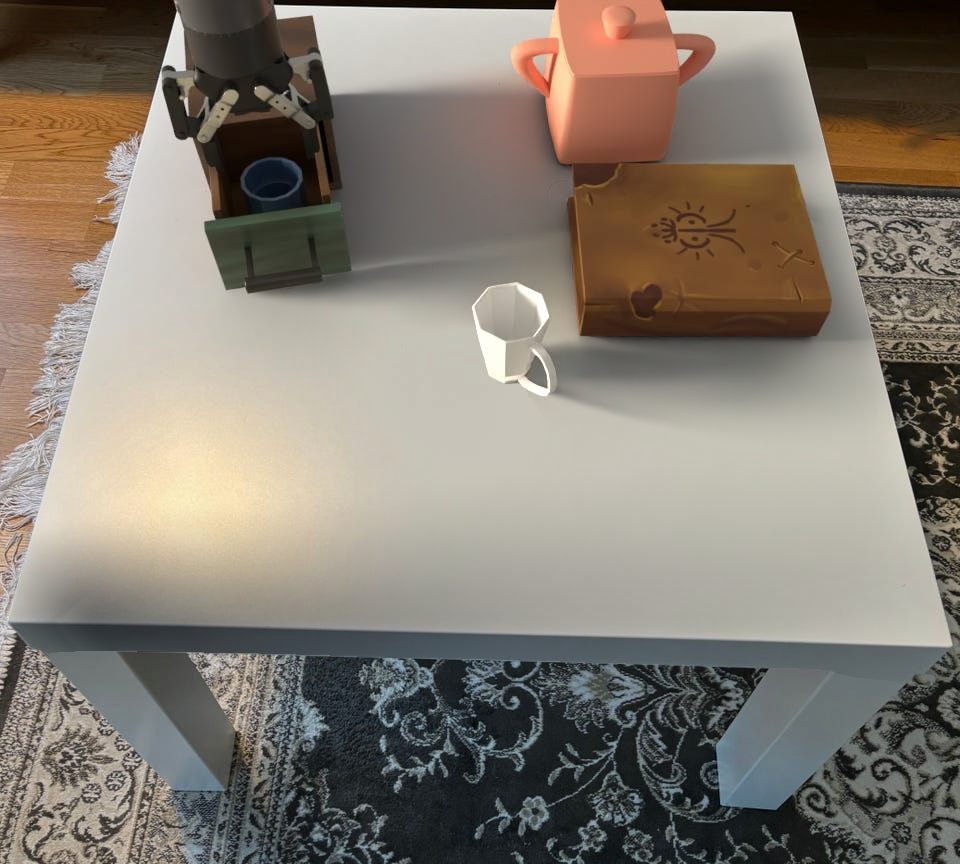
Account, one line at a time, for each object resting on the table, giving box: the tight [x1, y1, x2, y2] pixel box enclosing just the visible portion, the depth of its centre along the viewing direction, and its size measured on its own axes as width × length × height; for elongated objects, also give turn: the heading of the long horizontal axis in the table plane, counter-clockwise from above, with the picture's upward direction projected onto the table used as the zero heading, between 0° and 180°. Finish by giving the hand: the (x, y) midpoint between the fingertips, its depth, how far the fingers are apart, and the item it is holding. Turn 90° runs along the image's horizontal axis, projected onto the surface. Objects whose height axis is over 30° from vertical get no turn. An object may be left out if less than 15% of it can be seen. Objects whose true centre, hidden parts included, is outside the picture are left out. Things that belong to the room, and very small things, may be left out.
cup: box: [471, 281, 558, 397], centre depth 81 cm, size 7×10×8 cm
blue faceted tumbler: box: [240, 157, 309, 215], centre depth 89 cm, size 6×6×6 cm
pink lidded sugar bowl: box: [510, 0, 717, 165], centre depth 98 cm, size 20×22×14 cm
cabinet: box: [183, 14, 344, 193], centre depth 96 cm, size 16×14×10 cm
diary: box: [566, 162, 833, 337], centre depth 89 cm, size 23×19×6 cm
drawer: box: [203, 122, 353, 295], centre depth 88 cm, size 20×13×8 cm, turn 12°
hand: (265, 159), depth 85 cm, fingers open, 8 cm apart
